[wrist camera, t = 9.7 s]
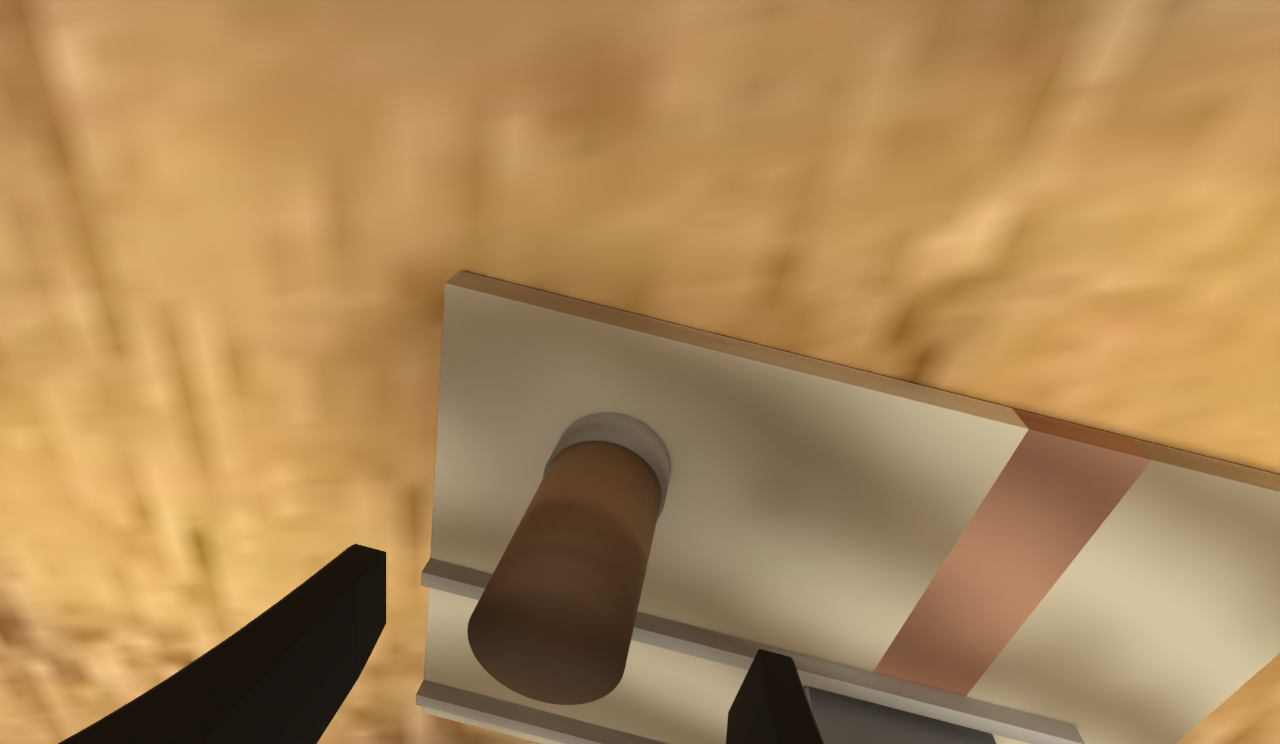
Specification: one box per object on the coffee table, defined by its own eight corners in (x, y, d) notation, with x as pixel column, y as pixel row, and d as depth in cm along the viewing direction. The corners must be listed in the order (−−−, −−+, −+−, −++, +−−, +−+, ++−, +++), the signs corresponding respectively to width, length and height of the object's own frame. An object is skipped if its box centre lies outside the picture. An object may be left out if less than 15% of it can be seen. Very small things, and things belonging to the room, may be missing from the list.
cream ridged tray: (1017, 842, 23) (1035, 891, 22) (433, 688, 24) (414, 727, 22) (1381, 500, 15) (1449, 546, 13) (461, 270, 15) (434, 291, 14)
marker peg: (670, 515, 17) (632, 720, 11) (560, 504, 17) (474, 694, 12) (672, 417, 15) (629, 597, 10) (552, 408, 16) (450, 575, 10)
